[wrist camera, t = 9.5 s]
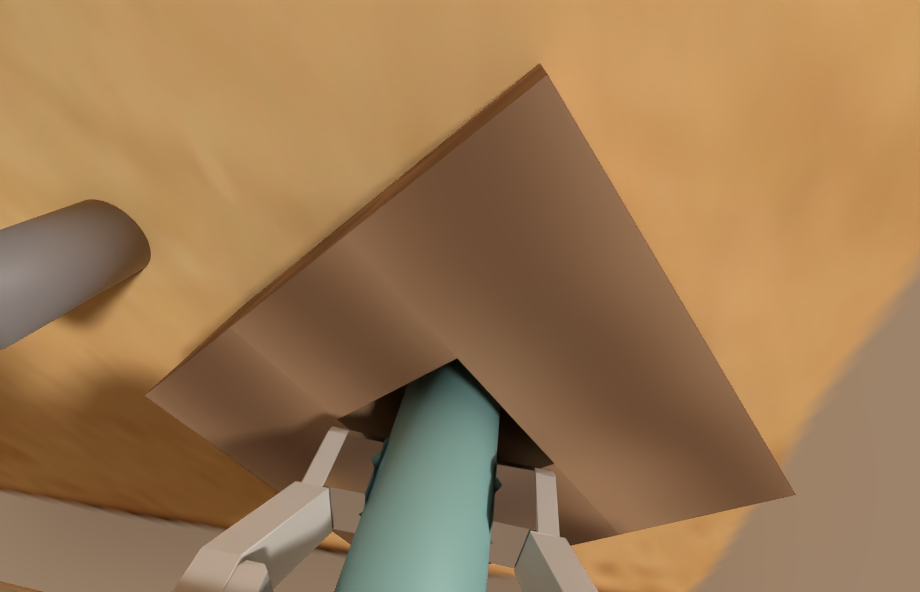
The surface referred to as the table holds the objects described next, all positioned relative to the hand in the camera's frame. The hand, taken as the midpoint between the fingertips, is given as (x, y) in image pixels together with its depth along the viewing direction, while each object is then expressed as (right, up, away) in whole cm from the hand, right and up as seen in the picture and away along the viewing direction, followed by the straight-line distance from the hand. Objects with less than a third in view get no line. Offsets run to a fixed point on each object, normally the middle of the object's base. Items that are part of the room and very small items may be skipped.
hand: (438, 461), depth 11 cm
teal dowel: (+1, +2, +4) cm, 5 cm away
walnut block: (+1, +3, +5) cm, 6 cm away
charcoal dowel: (-13, +7, +5) cm, 15 cm away
